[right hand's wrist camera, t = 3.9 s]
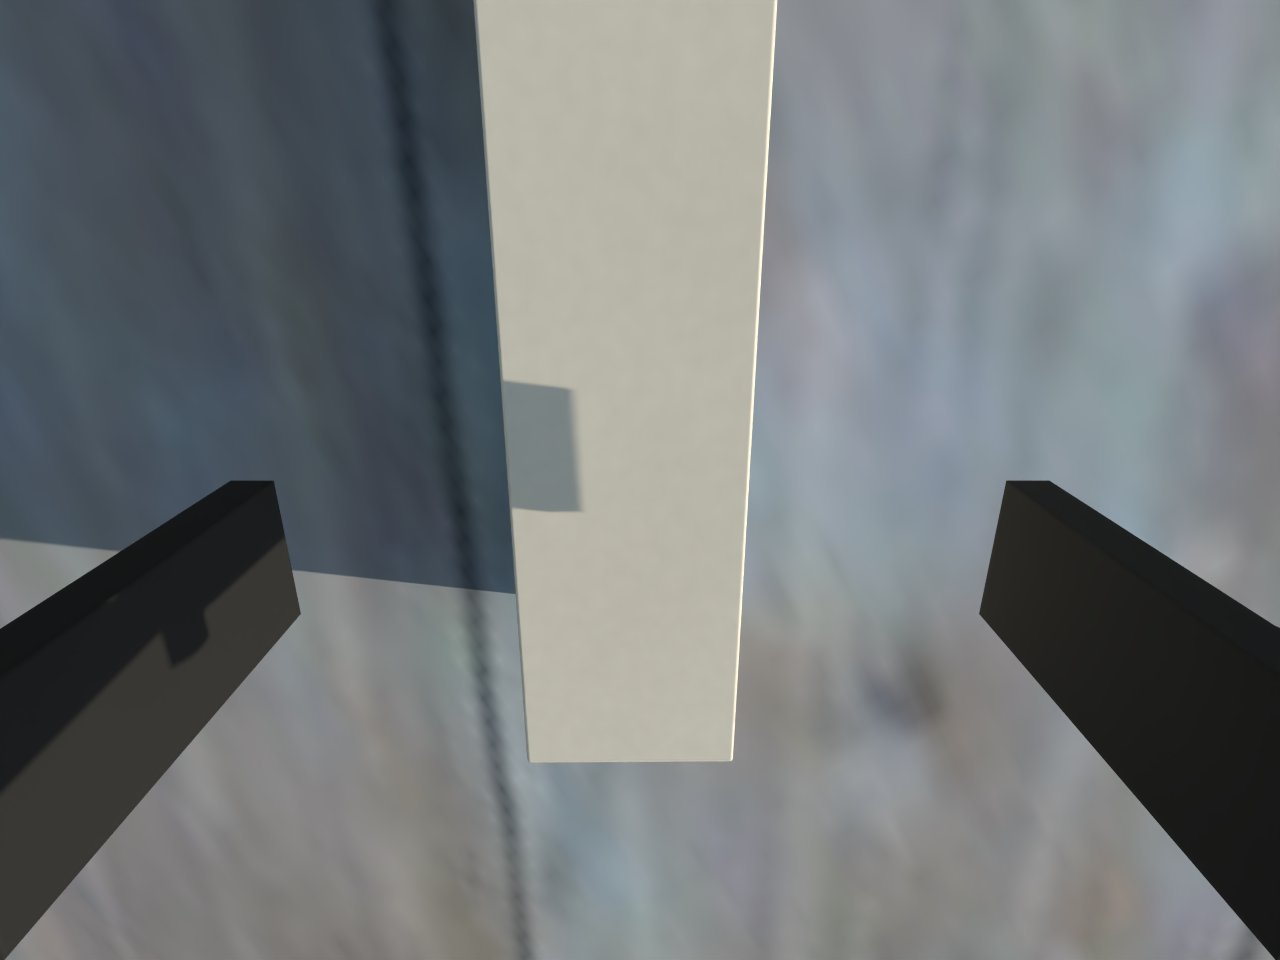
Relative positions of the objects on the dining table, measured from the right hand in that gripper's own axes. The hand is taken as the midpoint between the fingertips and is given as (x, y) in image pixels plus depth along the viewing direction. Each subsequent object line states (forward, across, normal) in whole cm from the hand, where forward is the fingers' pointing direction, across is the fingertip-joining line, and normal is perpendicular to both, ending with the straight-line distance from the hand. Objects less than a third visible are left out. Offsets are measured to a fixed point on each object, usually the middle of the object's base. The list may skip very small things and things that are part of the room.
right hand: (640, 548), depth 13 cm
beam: (+11, 0, -24) cm, 26 cm away
